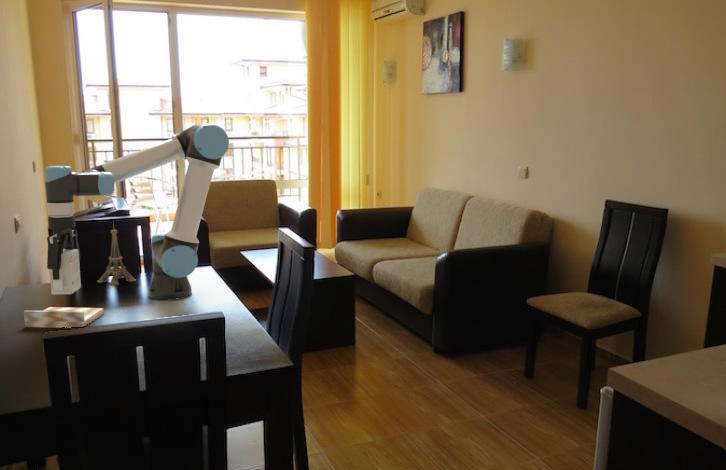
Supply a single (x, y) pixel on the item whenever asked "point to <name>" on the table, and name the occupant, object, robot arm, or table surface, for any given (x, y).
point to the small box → (68, 272)
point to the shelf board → (62, 317)
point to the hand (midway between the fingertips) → (66, 285)
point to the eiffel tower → (115, 264)
